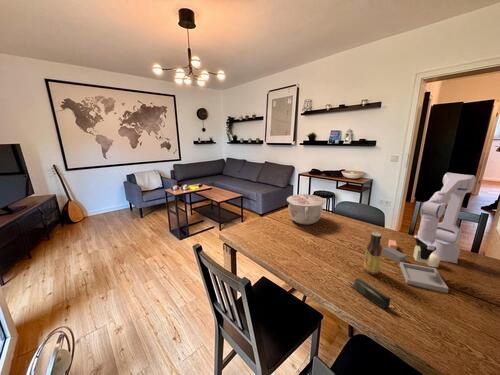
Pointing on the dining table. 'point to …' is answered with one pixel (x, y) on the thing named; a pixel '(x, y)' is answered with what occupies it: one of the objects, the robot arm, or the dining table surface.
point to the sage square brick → (417, 255)
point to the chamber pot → (305, 208)
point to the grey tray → (423, 277)
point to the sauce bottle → (373, 254)
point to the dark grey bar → (371, 293)
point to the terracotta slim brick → (392, 244)
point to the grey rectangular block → (394, 254)
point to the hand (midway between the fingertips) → (422, 256)
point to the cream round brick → (434, 260)
